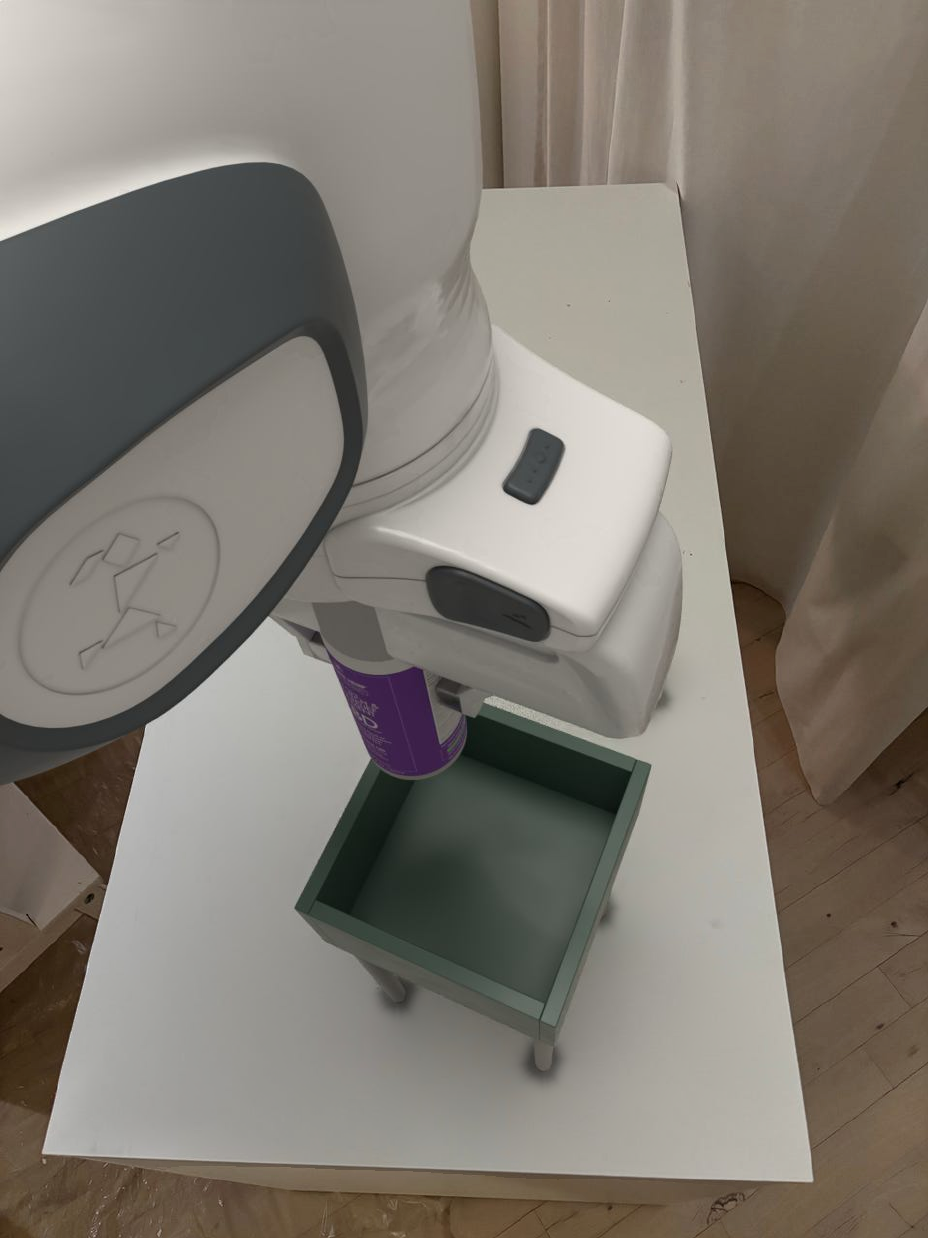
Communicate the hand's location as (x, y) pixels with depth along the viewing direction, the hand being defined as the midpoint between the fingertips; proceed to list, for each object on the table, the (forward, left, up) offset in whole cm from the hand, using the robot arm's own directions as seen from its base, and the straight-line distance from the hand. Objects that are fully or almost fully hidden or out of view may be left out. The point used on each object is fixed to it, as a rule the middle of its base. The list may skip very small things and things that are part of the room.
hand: (398, 671), depth 37 cm
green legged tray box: (-1, -3, -42) cm, 42 cm away
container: (0, 0, -6) cm, 6 cm away
